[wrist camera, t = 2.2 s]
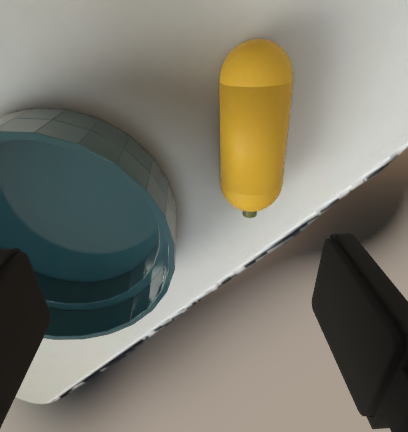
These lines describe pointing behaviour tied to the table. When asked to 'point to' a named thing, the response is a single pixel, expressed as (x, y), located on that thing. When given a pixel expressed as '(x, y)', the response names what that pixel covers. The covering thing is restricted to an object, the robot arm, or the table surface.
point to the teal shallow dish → (86, 219)
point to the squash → (254, 123)
